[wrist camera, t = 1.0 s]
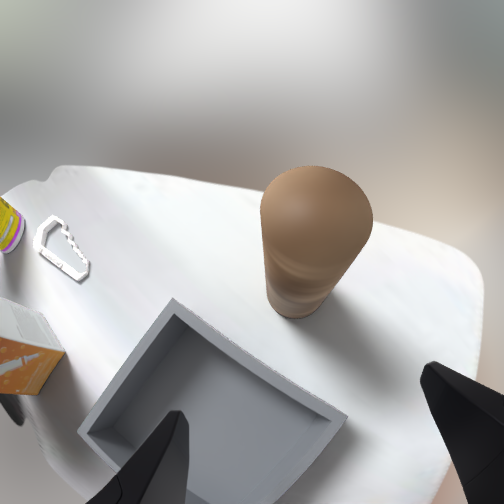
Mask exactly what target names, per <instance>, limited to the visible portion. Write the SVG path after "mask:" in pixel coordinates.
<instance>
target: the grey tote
mask: <svg viewBox="0 0 504 504" xmlns="http://www.w3.org/2000/svg"><path fill="white" fill-rule="evenodd" d="M170 410H181V411H182V412H183V413H184V415H185V417H186V419H187V421H188V423H189V471H188V480H187V489H186V498H185V504H274V503H275V502H276V501H277V500H278V499H279V498H280V497H281V496H282V495H283V494H284V493H285V492H286V491H287V490H288V489H289V488H290V487H291V486H292V485H293V484H294V483H295V482H296V481H297V479H298V478H299V477H300V476H301V475H302V474H303V473H304V472H305V471H306V470H307V468H308V467H309V466H310V465H311V464H312V463H313V462H314V460H315V459H316V458H317V457H318V456H319V454H320V453H321V452H322V451H323V449H324V448H325V447H326V446H327V444H328V443H329V442H330V441H331V439H332V438H333V437H334V435H335V434H336V433H337V431H338V430H339V429H340V427H341V426H342V425H343V423H344V422H345V420H346V419H347V418H348V416H347V415H345V414H344V413H342V412H341V411H339V410H338V409H336V408H335V407H333V406H332V405H330V404H328V403H327V402H325V401H323V400H321V399H320V398H318V397H316V396H315V395H313V394H311V393H310V392H308V391H306V390H305V389H303V388H301V387H300V386H298V385H296V384H295V383H293V382H292V381H290V380H289V379H287V378H285V377H284V376H282V375H281V374H279V373H278V372H276V371H275V370H273V369H271V368H270V367H268V366H267V365H265V364H264V363H262V362H261V361H259V360H258V359H257V358H255V357H254V356H252V355H251V354H249V353H248V352H246V351H245V350H243V349H242V348H241V347H239V346H238V345H236V344H235V343H234V342H232V341H231V340H229V339H228V338H227V337H225V336H224V335H223V334H221V333H220V332H218V331H217V330H216V329H214V328H213V327H212V326H210V325H209V324H208V323H206V322H205V321H204V320H202V319H201V318H200V317H199V316H197V315H196V314H195V313H193V312H192V311H191V310H189V309H188V308H186V307H185V306H184V305H182V304H181V303H179V302H178V301H177V300H175V299H174V298H172V299H171V301H170V302H169V303H168V304H167V306H166V307H165V308H164V310H163V311H162V312H161V314H160V315H159V316H158V318H157V319H156V320H155V322H154V323H153V324H152V326H151V327H150V328H149V330H148V331H147V332H146V334H145V335H144V336H143V338H142V339H141V340H140V342H139V343H138V345H137V346H136V347H135V349H134V350H133V351H132V353H131V354H130V355H129V357H128V358H127V360H126V361H125V362H124V364H123V365H122V367H121V368H120V369H119V371H118V372H117V374H116V375H115V376H114V378H113V379H112V381H111V382H110V383H109V385H108V386H107V388H106V389H105V391H104V392H103V393H102V395H101V396H100V398H99V399H98V401H97V402H96V404H95V405H94V407H93V408H92V409H91V411H90V412H89V414H88V415H87V417H86V418H85V420H84V421H83V423H82V424H81V426H80V427H79V429H78V430H77V433H78V434H79V435H80V436H81V437H82V439H83V440H84V441H85V442H86V443H87V444H88V445H89V446H90V447H91V448H92V450H93V451H94V452H95V453H96V454H97V455H98V456H99V457H100V458H101V459H102V460H103V461H104V462H105V463H106V464H107V465H108V466H109V467H110V468H111V469H113V470H114V471H115V472H116V473H118V471H119V470H120V469H121V468H122V467H123V466H124V464H125V463H126V462H127V461H128V460H129V459H130V458H131V456H132V455H133V454H134V453H135V452H136V450H137V449H138V448H139V447H140V446H141V445H142V443H143V442H144V441H145V440H146V439H147V437H148V436H149V435H150V434H151V433H152V431H153V430H154V429H155V428H156V427H157V425H158V424H159V423H160V422H161V420H162V419H163V418H164V417H165V416H166V414H167V413H168V412H169V411H170Z"/></svg>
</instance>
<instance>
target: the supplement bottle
mask: <svg viewBox="0 0 504 504" xmlns="http://www.w3.org/2000/svg"><path fill="white" fill-rule="evenodd" d="M23 230H24V218H23V216H22V215H21V214H20V213H19V212H18V211H17V210H15V209H14V208H13V207H12V206H11V205H9V204H8V203H7V202H6V201H5V200H4V199H2V198H1V197H0V251H1V252H2V253H9V252H11V251H12V250H13V249H14V248H15V247H16V246H17V244H18V243H19V241H20V239H21V237H22V234H23Z"/></svg>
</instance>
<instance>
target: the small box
mask: <svg viewBox="0 0 504 504" xmlns="http://www.w3.org/2000/svg"><path fill="white" fill-rule="evenodd" d="M64 354H65V350H64V348H63V347H62V345H61V344H60V342H59V341H58V339H57V338H56V336H55V334H54V333H53V331H52V329H51V327H50V326H49V324H48V322H47V321H46V319H45V317H44V315H43V314H42V313H40V312H37V311H35V310H32V309H30V308H27V307H25V306H22V305H20V304H17V303H15V302H12V301H10V300H8V299H5V298H3V297H1V296H0V393H7V394H20V395H38V393H39V391H40V389H41V388H42V386H43V384H44V383H45V381H46V380H47V378H48V377H49V375H50V374H51V372H52V371H53V369H54V368H55V366H56V365H57V363H58V362H59V360H60V359H61V358H62V356H63V355H64Z"/></svg>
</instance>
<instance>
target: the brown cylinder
mask: <svg viewBox="0 0 504 504" xmlns="http://www.w3.org/2000/svg"><path fill="white" fill-rule="evenodd" d="M260 215H261V227H262V239H263V252H264V264H265V277H266V290H267V297H268V300H269V303H270V304H271V306H272V307H273V309H274V310H275V311H276V312H278V313H279V314H281V315H282V316H285V317H288V318H293V319H298V318H303V317H306V316H309V315H310V314H312V313H313V312H315V311H316V310H317V309H318V307H319V306H320V305H321V303H322V302H323V301H324V300H325V298H326V297H327V296H328V295H329V293H330V292H331V291H332V289H333V288H334V287H335V285H336V284H337V283H338V281H339V280H340V279H341V277H342V276H343V275H344V273H345V272H346V271H347V269H348V268H349V267H350V265H351V264H352V262H353V261H354V260H355V258H356V257H357V255H358V254H359V253H360V251H361V250H362V248H363V247H364V246H365V244H366V242H367V241H368V239H369V237H370V234H371V231H372V226H373V214H372V209H371V206H370V203H369V201H368V199H367V197H366V195H365V194H364V192H363V191H362V189H361V188H360V187H359V186H358V185H357V184H356V183H355V182H354V181H352V180H351V179H350V178H349V177H347V176H345V175H344V174H342V173H340V172H338V171H335V170H332V169H330V168H325V167H319V166H303V167H297V168H294V169H290V170H288V171H286V172H284V173H282V174H281V175H279V176H278V177H276V178H275V179H274V180H273V181H272V182H271V183H270V184H269V186H268V187H267V189H266V190H265V192H264V194H263V197H262V200H261V206H260Z"/></svg>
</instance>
